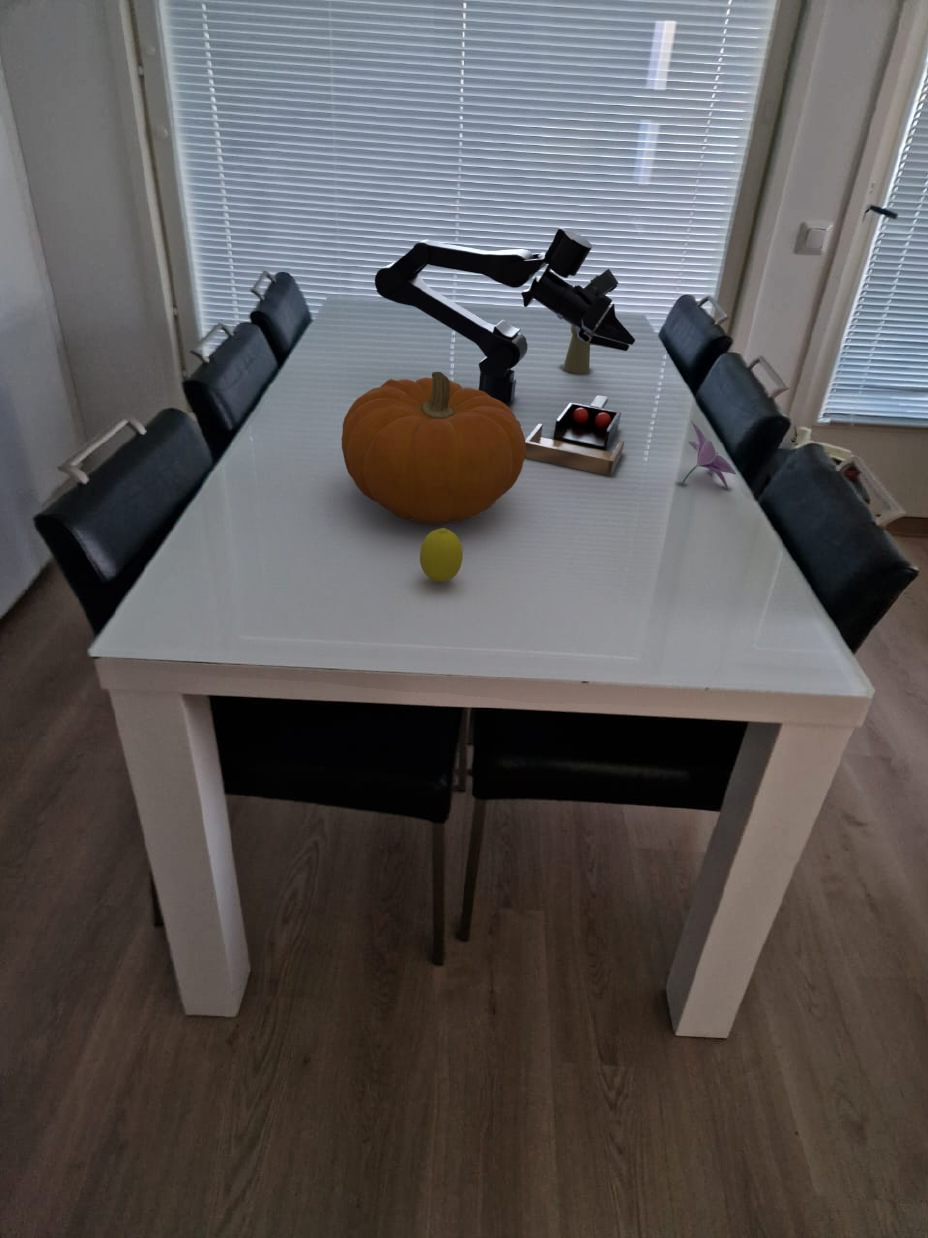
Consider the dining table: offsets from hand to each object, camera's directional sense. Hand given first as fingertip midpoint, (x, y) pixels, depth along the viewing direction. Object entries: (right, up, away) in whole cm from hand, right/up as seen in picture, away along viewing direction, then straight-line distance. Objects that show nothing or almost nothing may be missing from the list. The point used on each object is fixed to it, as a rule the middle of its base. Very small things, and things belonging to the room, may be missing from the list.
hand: (630, 345), depth 154 cm
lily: (+10, -28, -11) cm, 31 cm away
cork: (-5, +6, +35) cm, 36 cm away
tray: (-12, -22, -7) cm, 26 cm away
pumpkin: (-36, -32, -25) cm, 55 cm away
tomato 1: (-9, -12, +4) cm, 16 cm away
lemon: (-34, -46, -45) cm, 73 cm away
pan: (-7, -14, +5) cm, 17 cm away
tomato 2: (-5, -13, +3) cm, 14 cm away
